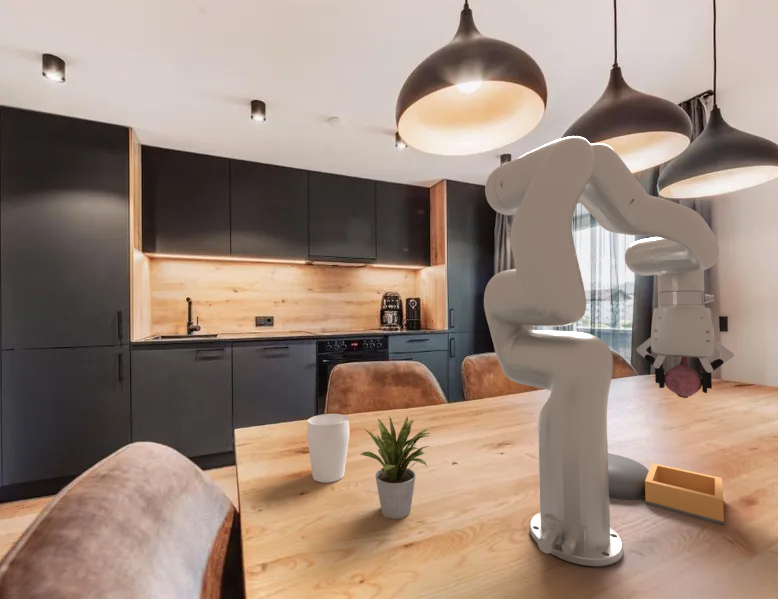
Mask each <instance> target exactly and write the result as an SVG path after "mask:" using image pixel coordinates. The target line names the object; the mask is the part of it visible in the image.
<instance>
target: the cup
mask: <svg viewBox="0 0 778 599" xmlns="http://www.w3.org/2000/svg"><path fill="white" fill-rule="evenodd" d="M349 420H350V419H349V416H347V415H345V414H340V413H326V414H325V413H324V414H318V415H315V416H314V415H313V416H311V417H310V418H308V420H307V428H306V429H307V430H306V438H307V444H308V452H309V460H310V466H311V472H312V473H311V474H312V475H311V476H312V478H313V480H314V481H316V482H319V483H325V484H326V483H327V484H328V483H334V482H338V481H339V480H341V479H342V478H343V477H344V476H345V471H346V463H347V455H348V449H349V448H348V447H349V441H350V434H351V432H350V421H349Z"/></svg>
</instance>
